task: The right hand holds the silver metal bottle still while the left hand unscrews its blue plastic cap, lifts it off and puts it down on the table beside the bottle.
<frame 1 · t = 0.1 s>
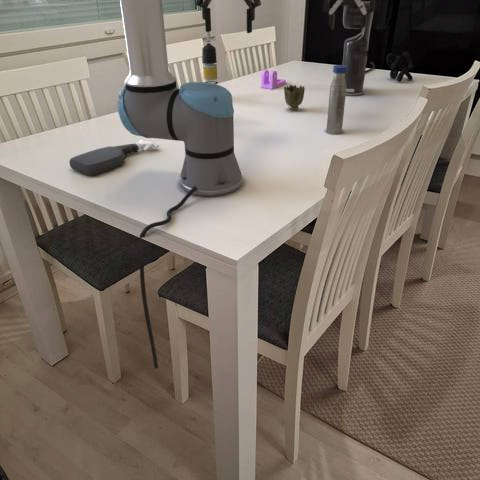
left hand: (228, 32, 139), 28 cm above the table, tool pointing down, fingers open, 13 cm apart
right hand: (346, 28, 131), 29 cm above the table, tool pointing down, fingers open, 8 cm apart
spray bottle: (117, 159, 125), on the table
cup: (293, 110, 163), on the table
squiggle: (399, 80, 200), on the table
cap: (340, 67, 132), point 19 cm above the table, screwed on, not yet turned
bottle: (334, 131, 142), on the table
bracket: (274, 85, 196), on the table
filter: (211, 98, 179), on the table
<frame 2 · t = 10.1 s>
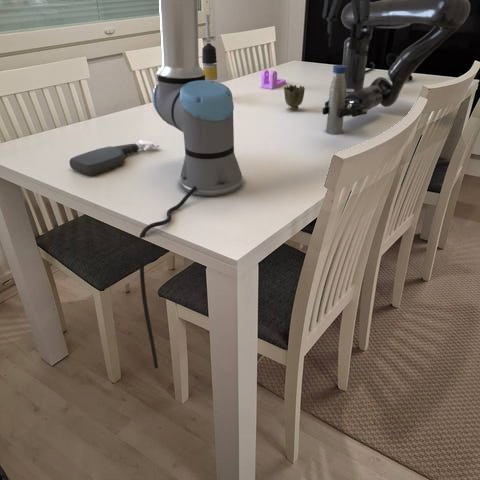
left hand: (342, 47, 129), 25 cm above the table, tool pointing down, fingers open, 6 cm apart
right hand: (331, 112, 137), 7 cm above the table, tool horizontal, fingers closed on bottle, 5 cm apart
bottle: (334, 131, 142), on the table, touching right hand
everything else where it was.
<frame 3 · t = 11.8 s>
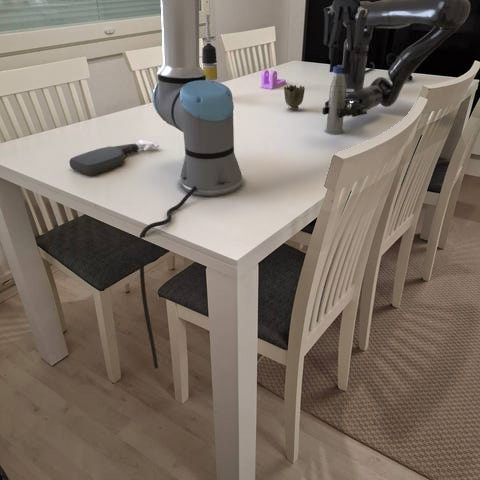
left hand: (339, 72, 133), 18 cm above the table, tool pointing down, fingers closed on cap, 4 cm apart
right hand: (331, 112, 137), 7 cm above the table, tool horizontal, fingers closed on bottle, 5 cm apart
cap: (340, 67, 132), point 19 cm above the table, screwed on, not yet turned, touching left hand
bottle: (334, 131, 142), on the table, touching right hand
everything else where it was.
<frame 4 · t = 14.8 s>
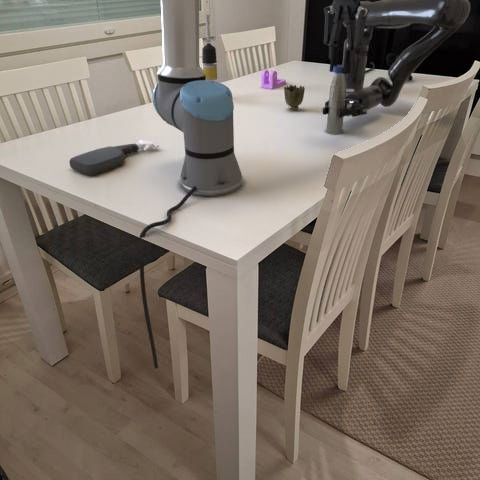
left hand: (339, 71, 132), 18 cm above the table, tool pointing down, fingers closed on cap, 4 cm apart
right hand: (331, 112, 137), 7 cm above the table, tool horizontal, fingers closed on bottle, 5 cm apart
cap: (340, 67, 132), point 20 cm above the table, turned 79° so far, risen 0.1 cm, still on its thread, touching left hand
bottle: (334, 131, 142), on the table, touching right hand
everything else where it was.
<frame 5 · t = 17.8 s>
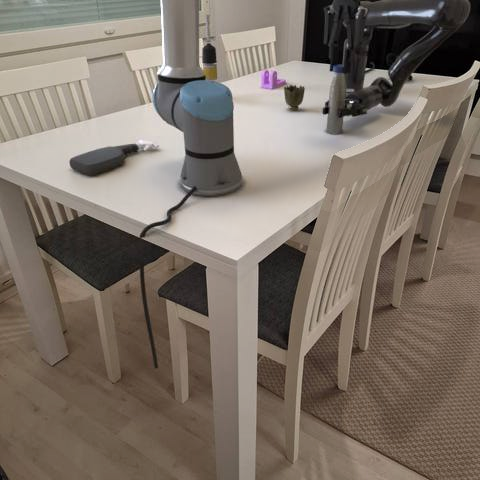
left hand: (339, 71, 132), 18 cm above the table, tool pointing down, fingers closed on cap, 4 cm apart
right hand: (331, 112, 137), 7 cm above the table, tool horizontal, fingers closed on bottle, 5 cm apart
cap: (340, 66, 132), point 20 cm above the table, turned 159° so far, risen 0.2 cm, still on its thread, touching left hand
bottle: (334, 131, 142), on the table, touching right hand
everything else where it was.
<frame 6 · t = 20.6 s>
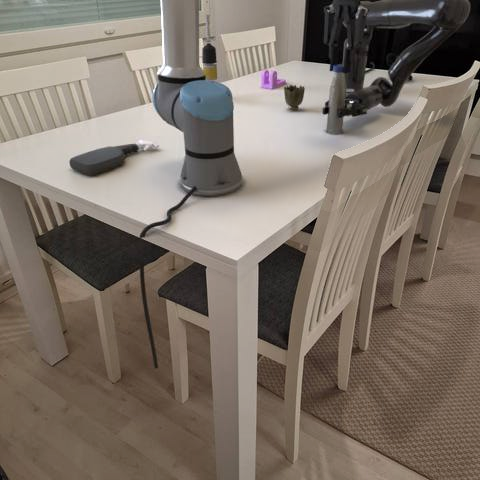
left hand: (339, 71, 132), 18 cm above the table, tool pointing down, fingers closed on cap, 4 cm apart
right hand: (331, 112, 137), 7 cm above the table, tool horizontal, fingers closed on bottle, 5 cm apart
cap: (340, 66, 132), point 20 cm above the table, turned 238° so far, risen 0.3 cm, still on its thread, touching left hand
bottle: (334, 131, 142), on the table, touching right hand
everything else where it was.
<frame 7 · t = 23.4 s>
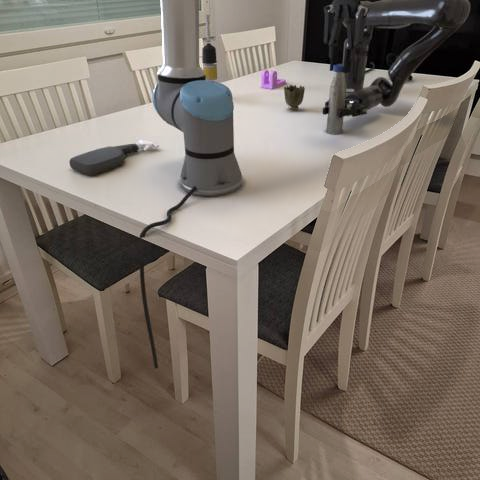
left hand: (339, 71, 132), 18 cm above the table, tool pointing down, fingers closed on cap, 4 cm apart
right hand: (331, 112, 137), 7 cm above the table, tool horizontal, fingers closed on bottle, 5 cm apart
cap: (340, 66, 132), point 20 cm above the table, turned 318° so far, risen 0.3 cm, still on its thread, touching left hand
bottle: (334, 131, 142), on the table, touching right hand
everything else where it was.
when the left hand's fingers open (1 cm above the table, at t = 28.8 s): cap drops 1 cm, point 1 cm above the table.
when the right hand's fingers open (7 cm above the table, at t = 30.1 s): bottle stays where it is, on the table.
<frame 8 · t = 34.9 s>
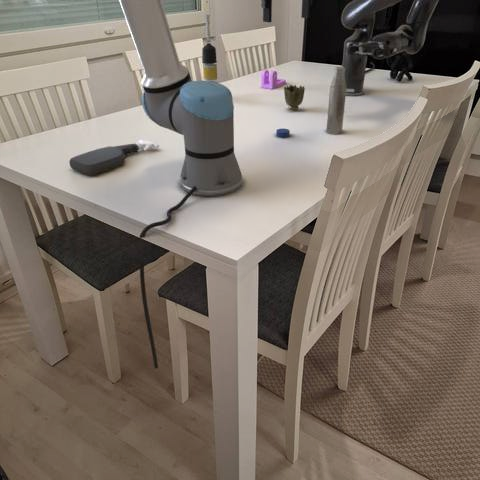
left hand: (286, 20, 122), 33 cm above the table, tool pointing down, fingers open, 13 cm apart
right hand: (360, 52, 137), 22 cm above the table, tool horizontal, fingers open, 8 cm apart
cap: (282, 131, 139), point 1 cm above the table, off its thread
bottle: (334, 131, 142), on the table
everything else where it was.
at the end: cap came off its thread; cap point 1.3 cm above the table; the left hand is holding nothing; the right hand is holding nothing; bottle tilted 0°; bottle moved 0.0 cm from its start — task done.
